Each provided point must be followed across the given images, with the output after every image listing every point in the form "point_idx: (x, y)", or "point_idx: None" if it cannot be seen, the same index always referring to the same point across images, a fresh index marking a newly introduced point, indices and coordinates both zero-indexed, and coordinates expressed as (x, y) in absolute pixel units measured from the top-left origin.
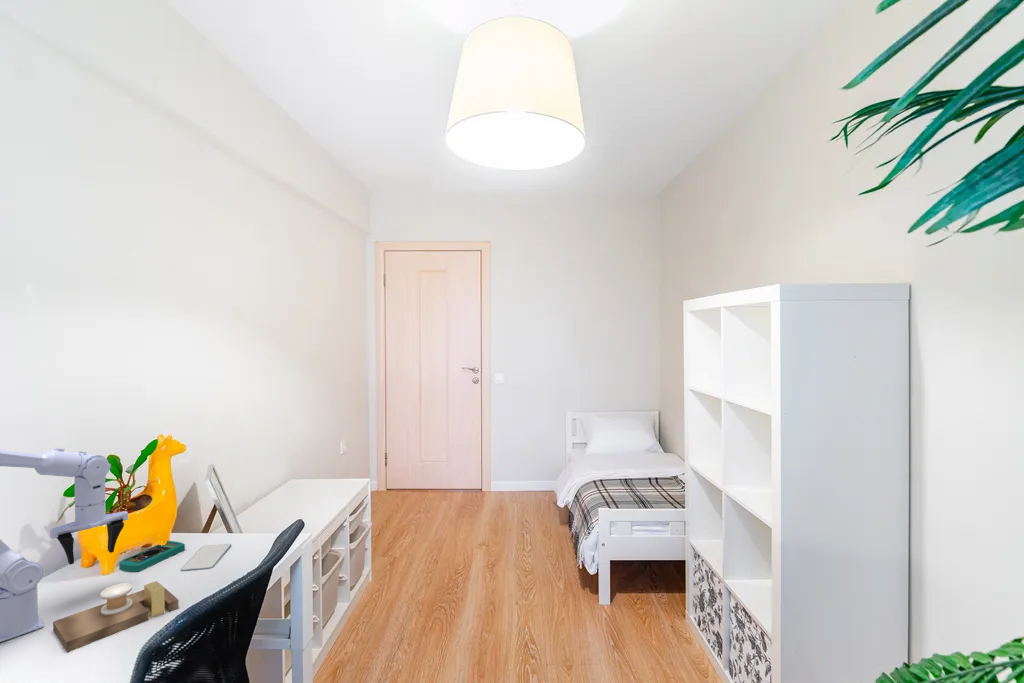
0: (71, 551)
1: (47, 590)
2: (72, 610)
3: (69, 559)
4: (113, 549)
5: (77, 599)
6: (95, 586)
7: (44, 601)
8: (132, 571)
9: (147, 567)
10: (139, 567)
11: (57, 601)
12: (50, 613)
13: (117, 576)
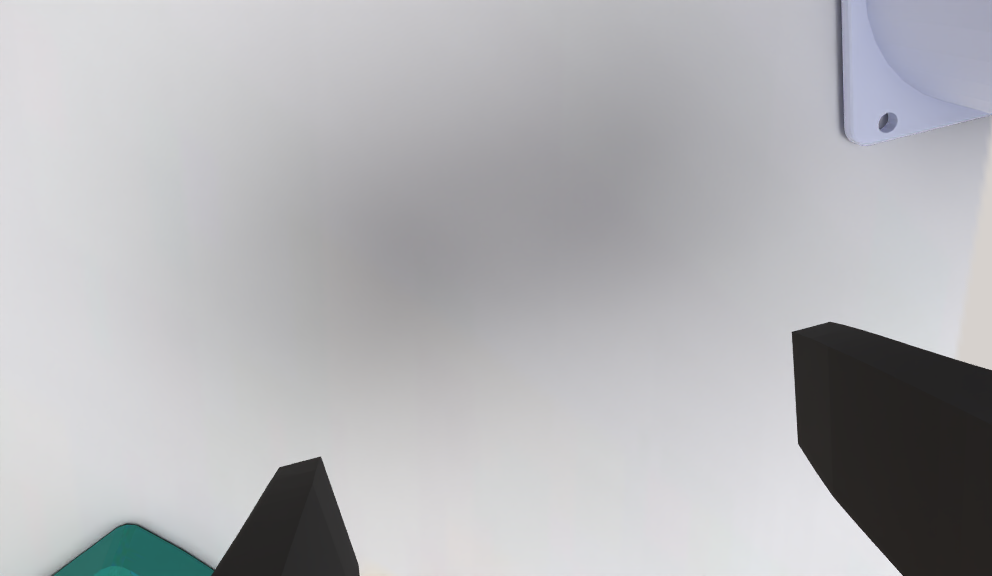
0: (986, 396)
1: (735, 551)
2: (620, 35)
3: (899, 347)
4: (270, 486)
5: (577, 253)
6: (452, 429)
7: (769, 374)
8: (181, 553)
9: (58, 572)
10: (110, 554)
11: (700, 315)
12: (760, 105)
13: None
